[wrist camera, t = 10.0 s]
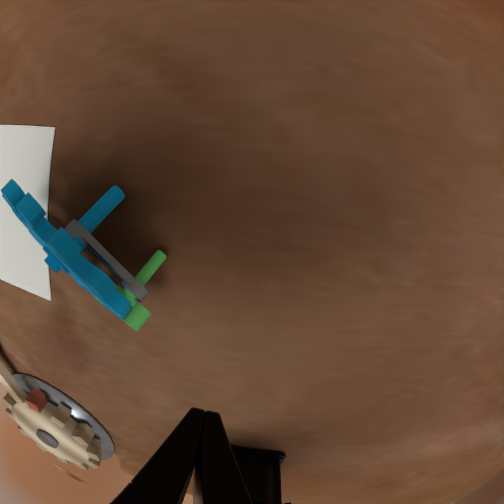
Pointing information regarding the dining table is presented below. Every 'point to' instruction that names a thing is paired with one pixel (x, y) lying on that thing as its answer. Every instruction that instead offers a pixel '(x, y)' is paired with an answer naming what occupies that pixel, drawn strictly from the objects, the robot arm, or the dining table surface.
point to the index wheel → (50, 425)
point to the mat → (30, 180)
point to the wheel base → (77, 410)
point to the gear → (78, 237)
